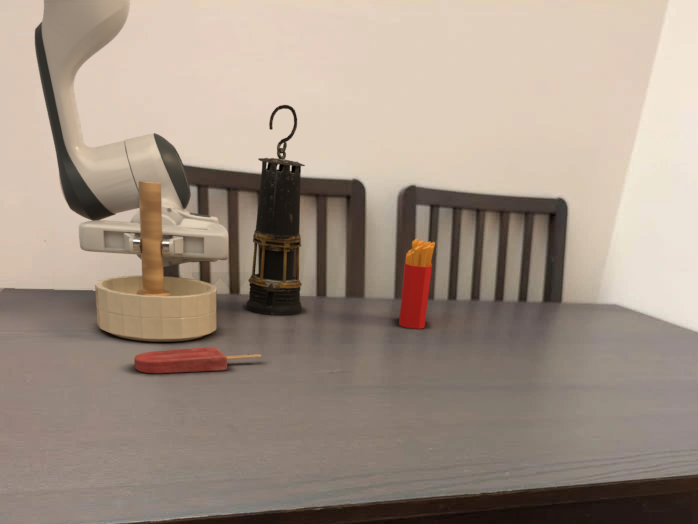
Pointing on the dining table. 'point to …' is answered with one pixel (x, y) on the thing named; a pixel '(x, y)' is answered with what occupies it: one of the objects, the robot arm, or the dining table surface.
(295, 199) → the lantern
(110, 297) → the bowl
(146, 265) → the stirring stick
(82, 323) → the dining table surface
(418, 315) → the french fries
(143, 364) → the popsicle
